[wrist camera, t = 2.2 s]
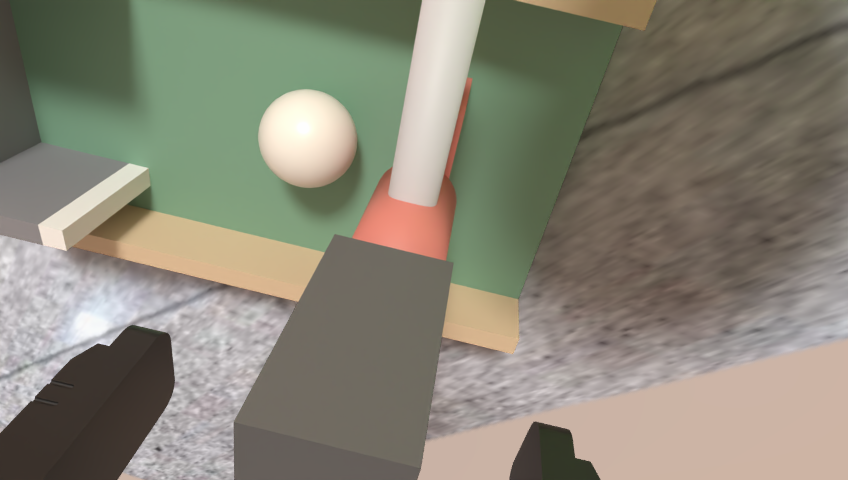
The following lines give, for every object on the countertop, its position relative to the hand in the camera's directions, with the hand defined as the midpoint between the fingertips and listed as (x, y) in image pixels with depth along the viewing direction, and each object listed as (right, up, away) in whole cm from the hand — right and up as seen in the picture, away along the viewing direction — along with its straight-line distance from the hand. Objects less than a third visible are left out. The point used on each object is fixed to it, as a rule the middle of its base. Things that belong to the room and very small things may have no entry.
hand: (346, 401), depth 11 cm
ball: (-3, +8, +10) cm, 13 cm away
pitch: (-5, +10, +13) cm, 17 cm away
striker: (+2, +7, +12) cm, 14 cm away
